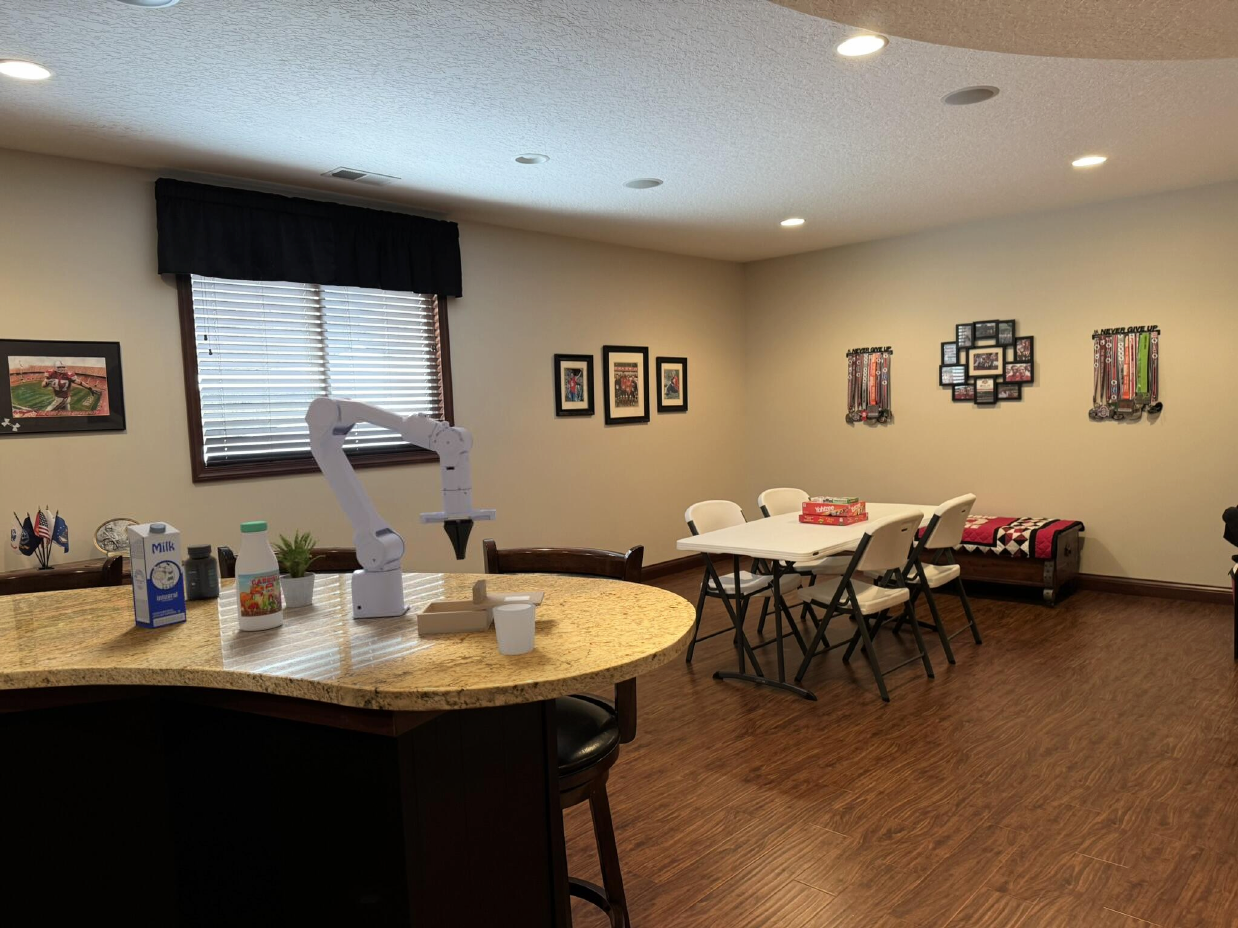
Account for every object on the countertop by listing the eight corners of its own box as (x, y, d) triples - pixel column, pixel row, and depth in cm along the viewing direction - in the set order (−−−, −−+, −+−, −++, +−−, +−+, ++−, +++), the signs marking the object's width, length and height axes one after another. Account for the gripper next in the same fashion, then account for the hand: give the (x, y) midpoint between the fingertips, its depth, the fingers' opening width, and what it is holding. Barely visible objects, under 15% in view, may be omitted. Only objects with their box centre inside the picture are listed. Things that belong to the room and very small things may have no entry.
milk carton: (170, 617, 171) (162, 520, 169) (187, 620, 167) (179, 521, 166) (134, 625, 165) (125, 525, 164) (151, 629, 161) (142, 526, 160)
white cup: (501, 658, 129) (498, 613, 128) (490, 648, 135) (487, 605, 135) (543, 651, 132) (541, 607, 131) (530, 641, 138) (528, 599, 137)
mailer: (418, 634, 146) (416, 614, 146) (429, 620, 156) (428, 601, 156) (486, 630, 146) (485, 610, 146) (493, 617, 156) (492, 598, 156)
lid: (472, 609, 146) (470, 589, 146) (480, 597, 156) (479, 578, 156) (540, 606, 146) (539, 585, 146) (544, 594, 156) (543, 575, 156)
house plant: (281, 597, 186) (276, 524, 185) (343, 594, 185) (338, 521, 184) (251, 612, 171) (245, 533, 170) (318, 609, 171) (312, 530, 170)
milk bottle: (229, 631, 156) (221, 525, 155) (260, 620, 163) (252, 519, 162) (262, 632, 153) (254, 525, 152) (292, 622, 160) (284, 519, 159)
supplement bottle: (179, 601, 187) (175, 548, 187) (202, 594, 194) (198, 543, 193) (203, 601, 185) (199, 548, 185) (226, 594, 192) (222, 543, 191)
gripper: (414, 493, 157) (419, 564, 157) (491, 488, 157) (495, 560, 158) (422, 489, 164) (426, 558, 164) (496, 485, 164) (500, 554, 165)
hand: (461, 558), depth 161 cm, fingers closed
